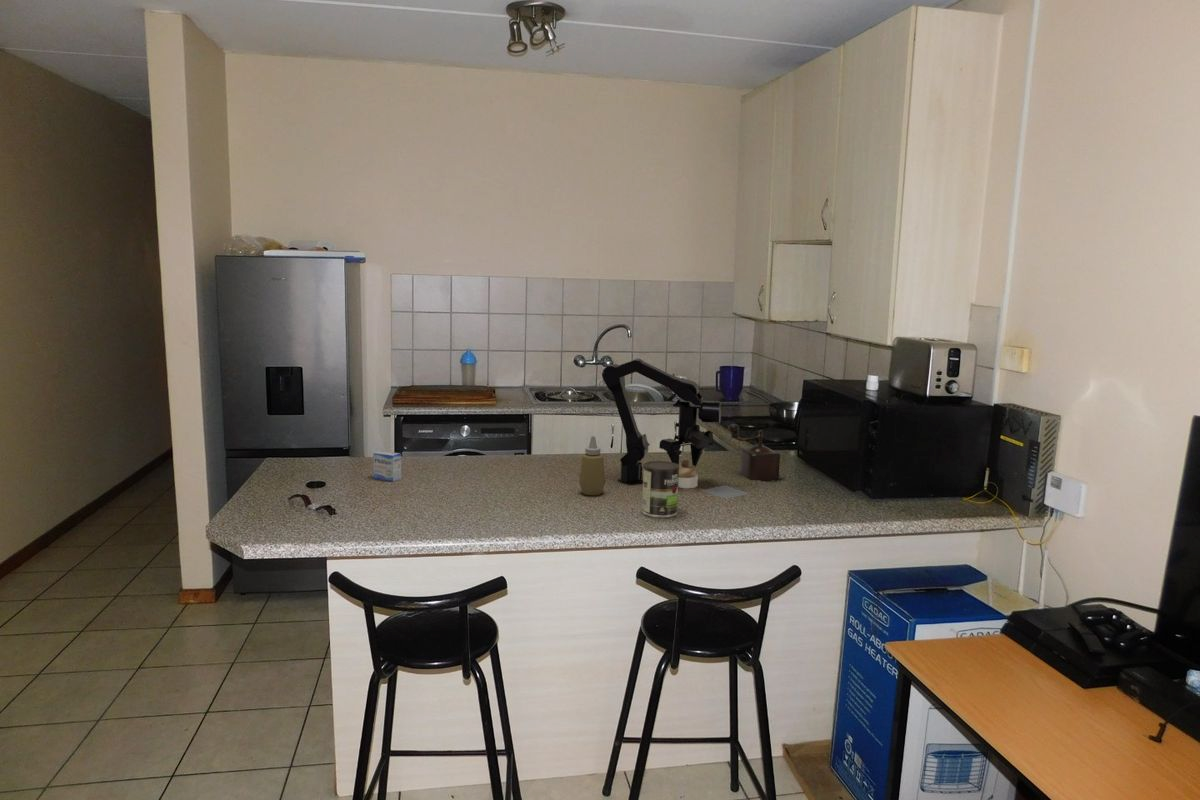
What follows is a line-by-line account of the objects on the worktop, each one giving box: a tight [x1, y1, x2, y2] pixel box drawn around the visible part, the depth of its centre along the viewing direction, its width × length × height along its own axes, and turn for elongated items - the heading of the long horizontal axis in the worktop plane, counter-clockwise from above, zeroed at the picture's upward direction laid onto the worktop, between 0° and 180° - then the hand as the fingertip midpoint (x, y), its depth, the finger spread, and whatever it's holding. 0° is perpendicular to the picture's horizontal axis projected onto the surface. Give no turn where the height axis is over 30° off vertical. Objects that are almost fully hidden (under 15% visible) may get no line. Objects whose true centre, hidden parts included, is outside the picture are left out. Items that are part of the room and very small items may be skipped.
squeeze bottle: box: [578, 435, 606, 496], centre depth 245 cm, size 8×8×18 cm
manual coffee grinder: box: [727, 423, 781, 482], centre depth 269 cm, size 16×11×18 cm
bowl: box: [678, 473, 699, 489], centre depth 257 cm, size 8×8×4 cm
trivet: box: [699, 485, 751, 500], centre depth 250 cm, size 11×11×1 cm
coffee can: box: [641, 460, 679, 519], centre depth 228 cm, size 10×10×14 cm
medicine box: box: [372, 450, 402, 482], centre depth 257 cm, size 8×4×9 cm, turn 68°
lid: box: [679, 459, 697, 478], centre depth 256 cm, size 7×7×5 cm
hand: (685, 468), depth 256 cm, fingers open, 8 cm apart
